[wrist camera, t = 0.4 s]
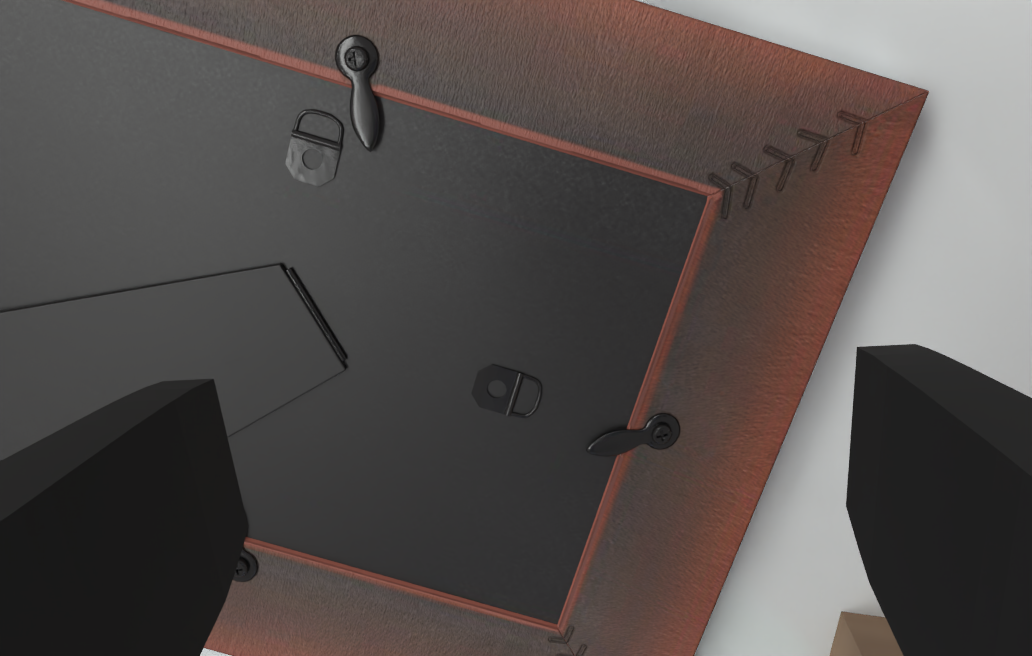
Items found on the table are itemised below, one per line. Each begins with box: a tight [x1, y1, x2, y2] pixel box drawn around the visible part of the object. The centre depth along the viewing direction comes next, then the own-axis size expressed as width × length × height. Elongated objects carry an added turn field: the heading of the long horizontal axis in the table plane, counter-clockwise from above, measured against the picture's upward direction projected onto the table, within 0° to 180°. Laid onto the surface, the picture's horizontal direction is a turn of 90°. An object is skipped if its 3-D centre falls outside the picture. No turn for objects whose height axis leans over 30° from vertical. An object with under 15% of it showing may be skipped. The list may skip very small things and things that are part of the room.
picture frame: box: [0, 0, 929, 656], centre depth 21 cm, size 16×2×22 cm
